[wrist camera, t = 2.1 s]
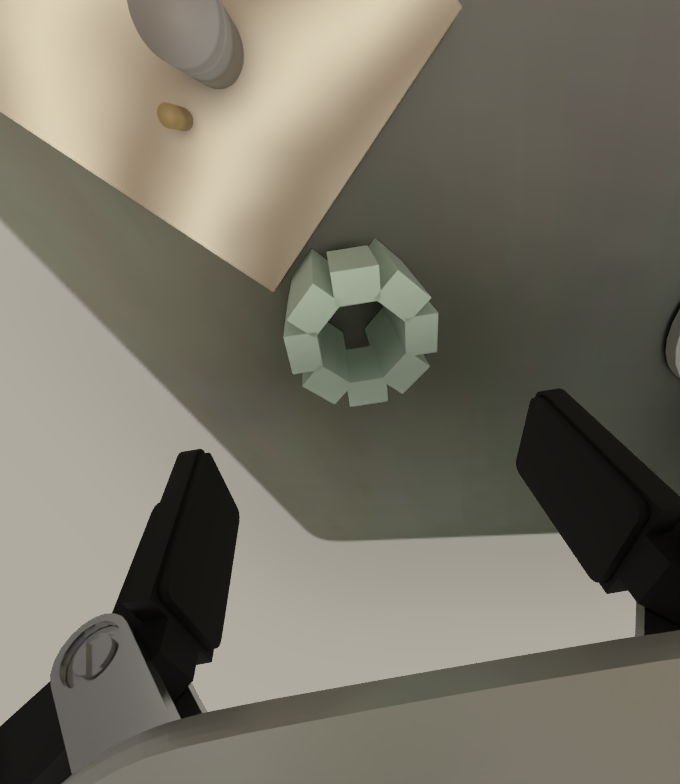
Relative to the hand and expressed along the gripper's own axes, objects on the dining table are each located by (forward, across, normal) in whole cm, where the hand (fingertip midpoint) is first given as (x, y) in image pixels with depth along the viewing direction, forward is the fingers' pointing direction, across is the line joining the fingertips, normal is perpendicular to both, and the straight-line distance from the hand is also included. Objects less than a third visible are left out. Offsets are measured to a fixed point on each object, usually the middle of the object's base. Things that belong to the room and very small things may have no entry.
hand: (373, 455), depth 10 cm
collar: (+13, -1, 0) cm, 13 cm away
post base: (+13, +3, -11) cm, 18 cm away
